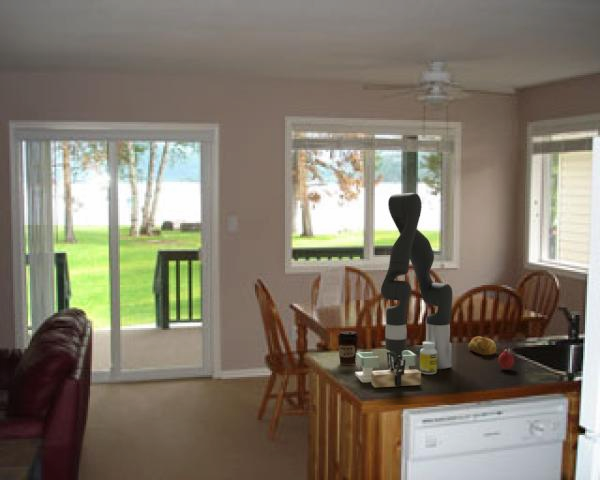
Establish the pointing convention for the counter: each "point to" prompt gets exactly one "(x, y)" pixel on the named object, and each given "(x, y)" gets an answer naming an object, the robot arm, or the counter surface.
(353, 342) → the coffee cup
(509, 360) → the onion
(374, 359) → the bracket stand
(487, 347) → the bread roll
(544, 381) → the counter surface
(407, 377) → the tan rectangular bar
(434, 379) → the counter surface
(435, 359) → the pill bottle
